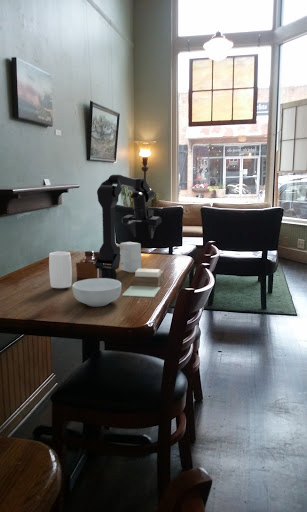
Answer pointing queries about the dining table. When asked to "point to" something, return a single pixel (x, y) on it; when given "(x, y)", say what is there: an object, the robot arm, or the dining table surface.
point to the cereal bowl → (97, 291)
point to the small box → (130, 256)
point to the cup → (60, 269)
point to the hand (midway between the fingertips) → (143, 237)
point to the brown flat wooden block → (149, 280)
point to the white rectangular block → (147, 272)
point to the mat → (141, 291)
